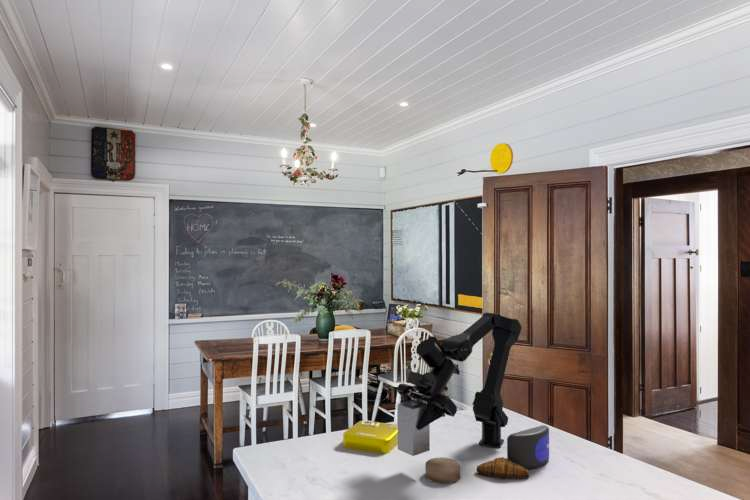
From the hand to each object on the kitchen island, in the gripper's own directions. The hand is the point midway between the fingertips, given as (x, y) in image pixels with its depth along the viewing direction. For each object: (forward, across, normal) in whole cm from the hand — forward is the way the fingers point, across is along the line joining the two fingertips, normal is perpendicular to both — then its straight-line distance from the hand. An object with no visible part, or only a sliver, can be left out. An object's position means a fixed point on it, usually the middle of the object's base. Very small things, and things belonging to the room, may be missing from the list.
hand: (409, 426), depth 134 cm
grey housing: (+4, 0, +6) cm, 7 cm away
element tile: (+5, -24, +14) cm, 28 cm away
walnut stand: (+5, +7, +13) cm, 15 cm away
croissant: (-4, +16, +22) cm, 28 cm away
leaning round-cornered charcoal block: (-12, +16, +30) cm, 36 cm away
